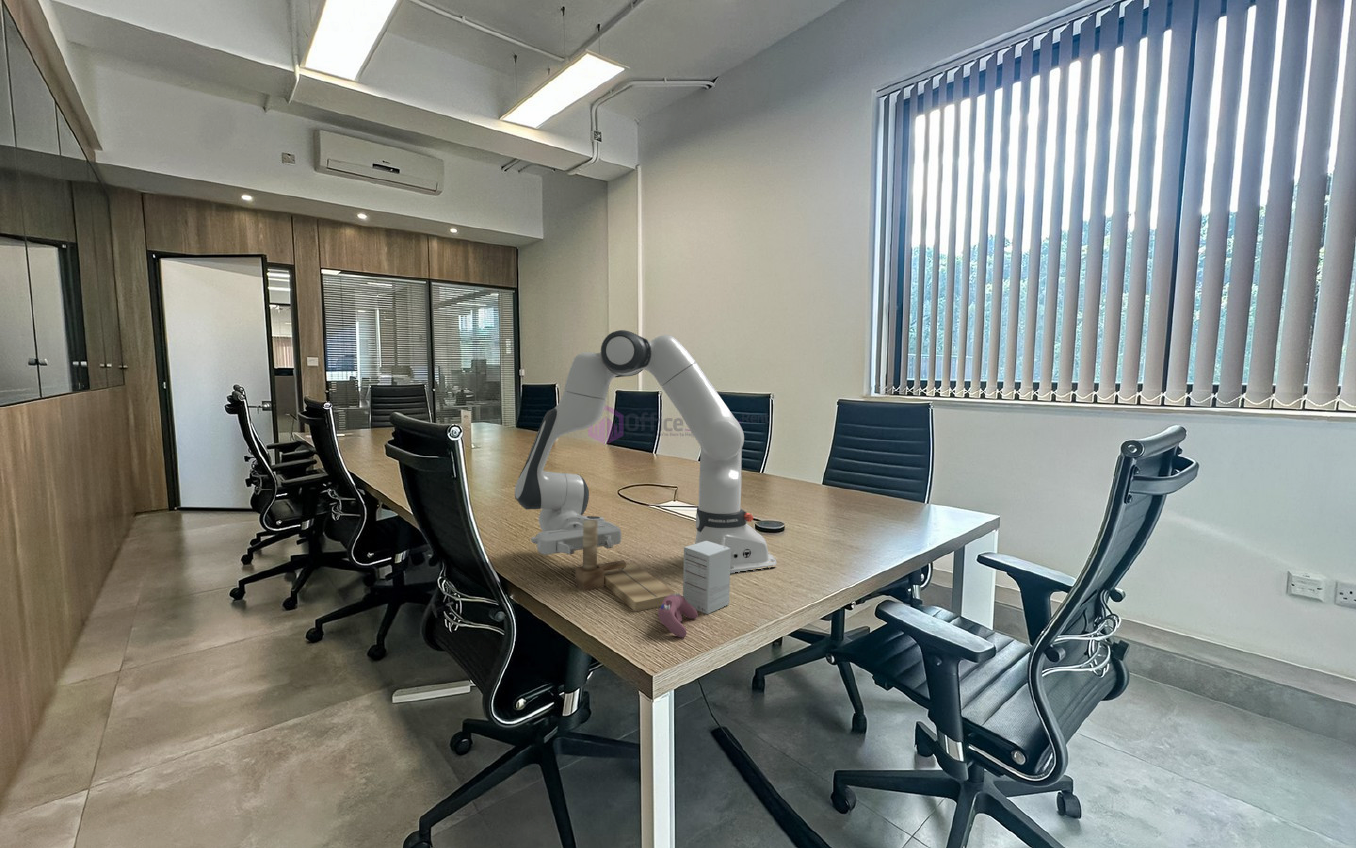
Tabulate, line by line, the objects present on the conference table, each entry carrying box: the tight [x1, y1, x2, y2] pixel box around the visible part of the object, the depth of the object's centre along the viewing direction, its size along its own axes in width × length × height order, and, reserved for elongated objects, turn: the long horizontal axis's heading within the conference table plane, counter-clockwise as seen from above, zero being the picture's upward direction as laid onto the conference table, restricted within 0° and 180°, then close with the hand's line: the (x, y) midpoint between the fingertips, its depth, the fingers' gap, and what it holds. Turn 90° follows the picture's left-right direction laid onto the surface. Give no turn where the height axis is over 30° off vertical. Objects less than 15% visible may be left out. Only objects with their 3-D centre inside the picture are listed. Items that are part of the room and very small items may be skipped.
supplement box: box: [682, 541, 731, 615], centre depth 116 cm, size 7×7×13 cm
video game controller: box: [657, 592, 699, 639], centre depth 106 cm, size 10×5×7 cm, turn 164°
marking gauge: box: [574, 520, 627, 592], centre depth 126 cm, size 11×5×15 cm, turn 121°
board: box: [604, 562, 678, 613], centre depth 124 cm, size 22×10×2 cm, turn 31°
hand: (591, 548), depth 124 cm, fingers open, 8 cm apart
